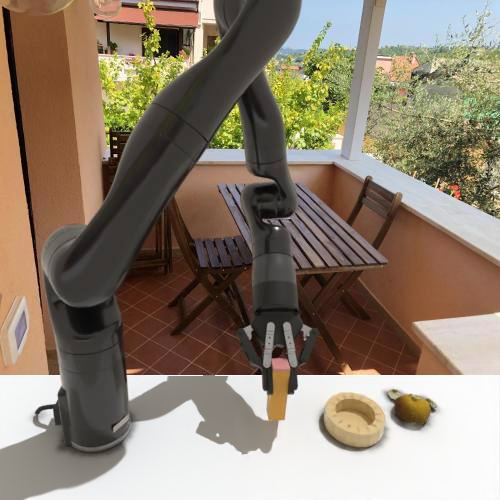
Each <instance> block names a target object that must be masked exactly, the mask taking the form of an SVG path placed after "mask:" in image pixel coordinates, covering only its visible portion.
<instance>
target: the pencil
mask: <svg viewBox="0 0 500 500" xmlns="http://www.w3.org/2000/svg"><path fill="white" fill-rule="evenodd" d="M270 367H271V368H272V378H273V395H267V398H266V414H267V421H269V422H273V421H274V422H275V421H285V420H286V414H287V413H286V412H287V402H288V396H289V395H288V394H287V393H288V383H289V376H290V366H289V362H288V359H287V358H285V357H276V358H275V357H274V358H273V357H271V366H270Z"/></svg>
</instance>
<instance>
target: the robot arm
mask: <svg viewBox="0 0 500 500" xmlns="http://www.w3.org/2000/svg"><path fill="white" fill-rule="evenodd" d="M302 6H303V0H212V7H213V14H214V19H215V25H216V29H217V33H218V37H219V40H220V41H219V42H218V44H216V46H215V47H213V49H212V50H211V51H209V52H208V53H207V54H206V55H205V56H204V57H203V58H201V59H199V61H197V62H196V63H195V64H193V65H192V66H190V67H189V68H188V69H185V70H184V71H183V72H181V73H180V74H179V75H177V76H175V78H173V79H172V80H171V81H170V82H168V83H167V84H166V85H165V86H164V87H162V89H161V90H160V91H159V92H158V93H157V94H156V95H155V96H154V98H153V99H152V100H151V102H150V104H148V106H147V107H146V109H145V110H144V111H143V114H142V115H141V116H140V118H139V119H138V121H137V123H135V126H134V127H133V129H132V130H131V132H130V134H129V136H128V138H127V140H126V143H125V145H124V148H123V151H122V154H121V156H120V159H119V162H118V166H117V168H116V173H115V176H114V178H113V181H112V184H111V187H110V189H109V191H108V194H107V195H106V197H105V199H104V200H103V202H102V204H101V205H100V207H99V208H98V209H97V211H96V212H95V214H94V215H93V216H92V218H91V219H90V220H89V222H88V223H87V224H85V223H70V224H69V223H68V224H66V225H63V226H61V227H59V228H57V229H56V230H55V231H53V232H52V233H51V234H50V235H49V236H48V238H47V239H46V241H45V242H44V245H43V247H42V250H41V255H40V263H41V271H42V272H41V273H42V278H43V285H44V290H45V291H44V292H45V296H46V304H47V309H48V315H49V318H50V319H49V320H50V323H51V328H52V331H53V337H54V344H55V348H56V356H57V357H56V358H57V363H58V370H59V375H60V376H59V377H60V383H61V385H60V388H59V389H58V391H57V395H56V396H57V400H56V402H55V403H52V404H51V403H50V404H44V405H41V406H39V407H38V408H36V410H35V411H34V415H36V416H39V414H41V412H43V411H47V410H52V412H53V419H54V425H55V426H61V429H62V436H63V442H64V446H72V447H73V448H74V449H76V450H77V451H81V452H84V453H99V452H103V451H108V450H109V449H112V448H114V447H115V446H117V445H119V444H120V443H121V442H123V441H124V440H125V438H127V436H128V435H129V433H130V431H131V428H132V418H131V411H130V399H129V386H128V385H129V384H128V374H127V373H128V371H127V359H126V347H125V334H124V331H125V330H124V320H123V316H122V315H123V314H122V311H121V309H120V307H119V304H118V300H117V297H116V293H117V292H118V291H119V290H120V288H121V287H122V285H124V282H125V280H126V279H127V277H128V275H129V273H130V271H131V269H132V268H133V265H134V264H135V262H136V260H137V258H138V256H139V254H140V252H141V251H142V249H143V247H144V245H145V243H146V241H147V239H148V238H149V236H150V234H151V233H152V231H153V229H154V227H155V226H156V223H157V222H158V221H159V219H160V217H162V215H163V213H164V212H165V210H166V209H167V208H168V206H169V205H170V203H171V202H172V200H173V198H174V197H175V195H176V194H177V193H178V191H179V190H180V188H181V186H182V185H183V183H184V182H185V180H187V177H188V176H189V175H190V173H191V172H192V171H193V169H194V168H195V167H196V165H197V164H198V162H199V161H200V160H201V158H202V157H203V155H204V154H205V152H206V151H207V149H208V147H209V146H210V144H211V143H212V141H213V139H214V138H215V136H216V134H217V133H218V131H219V130H220V128H221V127H222V125H223V124H224V122H225V121H226V120H227V118H228V116H229V115H230V114H231V112H232V111H233V110H234V108H236V106H237V108H238V112H239V113H238V114H239V118H240V124H241V125H240V126H241V131H242V140H243V149H244V159H245V165H246V169H247V171H248V173H249V174H250V175H252V176H253V177H257V178H263V179H266V180H268V181H256V182H250V183H247V184H246V185H245V186H244V187H243V188H242V190H241V192H240V196H239V202H240V207H241V210H242V213H243V215H244V218H245V221H246V223H247V227H248V230H249V234H250V240H251V257H252V259H251V260H252V262H251V263H252V264H251V265H252V266H251V282H250V287H251V296H252V297H251V299H252V318H251V321H250V323H249V325H247V326H245V327H243V328H242V327H239V328H238V329H237V330H236V333H235V337H236V339H237V341H238V343H239V346H240V348H241V349H242V351H243V353H244V355H245V357H246V359H247V361H248V363H249V365H250V366H251V367H256V368H259V369H260V371H261V388H262V390H263V392H266V395H267V396H268V395H273V378H272V368H271V367H270V366H271V358H273V357H272V355H273V354H272V353H273V349H274V348H281V349H282V352H283V355H284V358H287V359H288V362H289V366H290V376H289V383H288V393H287V394H288V395H287V396H290V395H291V396H292V395H294V394H295V391H297V390H298V388H299V382H298V367H301V366H304V365H305V364H307V363H308V362H309V359H310V357H311V354H312V352H313V349H314V346H315V343H316V341H317V339H318V336H319V333H320V332H319V329H318V328H317V327H310V326H308V325H305V324H304V322H303V320H302V318H301V316H300V308H299V295H298V294H299V293H298V284H297V271H296V267H295V263H294V252H293V240H292V234H291V232H290V230H289V229H288V228H287V227H285V226H283V225H280V224H279V225H278V224H273V223H268V222H265V221H272V220H273V221H274V220H275V221H276V220H287V219H291V218H292V217H293V216H294V215H295V214H296V213H297V211H298V209H299V204H300V203H299V202H300V199H299V195H298V191H297V189H296V186H295V183H294V181H293V179H292V176H291V172H290V169H289V164H288V158H287V156H288V155H287V137H286V126H285V121H284V118H283V114H282V111H281V108H280V106H279V104H278V101H277V99H276V97H275V94H274V93H273V89H272V87H271V85H270V83H269V81H268V78H267V76H266V72H265V68H266V66H267V65H268V64H269V63H270V62H271V61H272V60H273V58H274V57H275V56H276V54H277V53H278V52H279V51H280V50H281V49H282V48H283V46H284V45H285V43H286V42H287V41H288V39H289V38H290V36H291V35H292V34H293V32H294V30H295V28H296V25H297V23H298V22H299V20H300V19H299V18H300V15H301V11H302ZM269 180H271V181H269ZM252 333H253V334H254V335H255V337H256V338H257V339H258V340H259V342H260V344H262V348H261V357H259V356H258V354H257V352H256V350H255V347H254V346H253V344H252V341H251V340H252V336H253V335H252ZM300 333H301V334H302V336H301V337H302V340H303V341H304V342H303V345H302V348H301V351H300V353H299V355H298V357H297V355H296V347H295V346H296V345H295V341H296V338H297V337H298V336H299V334H300Z"/></svg>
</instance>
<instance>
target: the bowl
mask: <svg viewBox="0 0 500 500" xmlns="http://www.w3.org/2000/svg"><path fill="white" fill-rule="evenodd" d="M323 423H324V426H325V428H326V430H327V432H328V433H329V434H330V436H331V437H333V438H334V439H335V440H337V441H338V442H340V443H342V444H345V445H347V446H350V447H354V448H368V447H372V446H375V445H376V444H377V443H379V441H381V439H382V437H383V436H384V432H385V428H386V413H385V412H384V410H383V408H382V407H381V405H379V404H378V403H377V402H376V401H375V400H374V399H372V398H370V397H367V396H366V395H365V394H361V393H356V392H352V391H351V392H349V391H348V392H339V393H337V394H333V395H331V396H330V398H328V399H327V401H326V403H325V407H324V414H323Z"/></svg>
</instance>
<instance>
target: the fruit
mask: <svg viewBox="0 0 500 500" xmlns="http://www.w3.org/2000/svg"><path fill="white" fill-rule="evenodd" d="M387 394H388V397H389V398H390V399H392V400H394V405H393V410H394V413H395V416H396V418H397V419H398V420H399V421H400V422H402V423H409V424H418V425H420V426H423V425H424V424H426V423H427V421H428V420H429V418H430V415H431V410H432V409H431V406H430V405H432V406H434V407H433V409H436V408H438V405H437V403H436V402H434V400H432V399H430V398H429V397H428V398H423V397H422V396H420V395H418V394H413V393H400V392H399V390H398V389H395V388H394V389H392V388H391V389H389V390H388V391H387Z"/></svg>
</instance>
